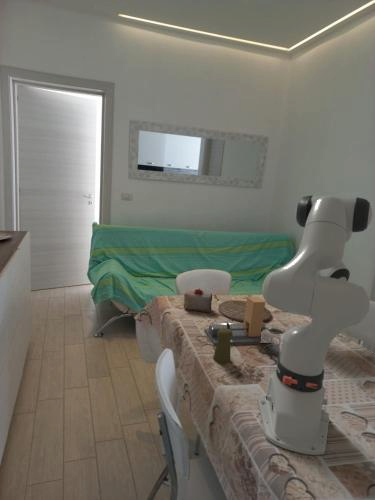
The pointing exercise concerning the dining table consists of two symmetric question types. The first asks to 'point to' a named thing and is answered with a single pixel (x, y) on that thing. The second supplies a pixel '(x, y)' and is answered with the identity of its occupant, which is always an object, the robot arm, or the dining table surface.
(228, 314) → the trivet
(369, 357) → the dining table surface
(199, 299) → the food item
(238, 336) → the base board
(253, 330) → the orange brown tall block
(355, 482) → the dining table surface
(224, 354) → the cork
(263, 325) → the grey banded bar
